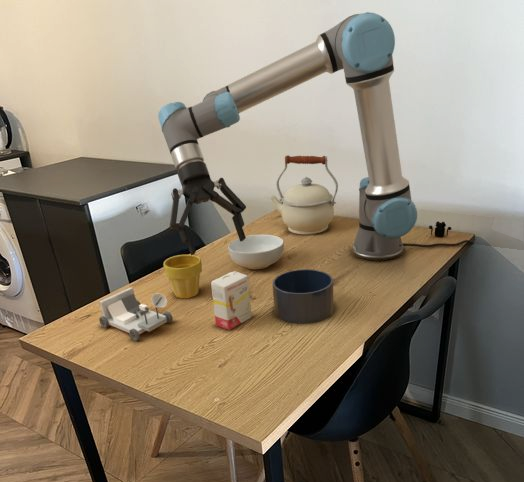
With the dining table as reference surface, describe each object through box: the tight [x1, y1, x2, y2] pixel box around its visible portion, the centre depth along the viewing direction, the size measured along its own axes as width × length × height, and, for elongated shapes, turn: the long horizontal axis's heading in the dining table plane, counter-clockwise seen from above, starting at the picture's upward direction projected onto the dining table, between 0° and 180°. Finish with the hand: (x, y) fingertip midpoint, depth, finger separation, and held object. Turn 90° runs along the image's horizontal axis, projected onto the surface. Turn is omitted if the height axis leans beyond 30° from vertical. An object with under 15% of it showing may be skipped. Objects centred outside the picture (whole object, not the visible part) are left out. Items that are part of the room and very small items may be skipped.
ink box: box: [210, 270, 252, 331], centre depth 135 cm, size 9×5×12 cm, turn 139°
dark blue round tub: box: [271, 268, 334, 324], centre depth 139 cm, size 15×15×8 cm
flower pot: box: [163, 254, 203, 299], centre depth 152 cm, size 10×10×10 cm
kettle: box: [269, 154, 339, 236], centre depth 189 cm, size 25×18×25 cm
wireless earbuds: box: [428, 221, 452, 238], centre depth 177 cm, size 7×2×5 cm, turn 65°
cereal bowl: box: [227, 233, 285, 270], centre depth 167 cm, size 17×17×7 cm
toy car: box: [98, 286, 174, 342], centre depth 137 cm, size 18×10×12 cm
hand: (218, 246), depth 138 cm, fingers open, 13 cm apart
